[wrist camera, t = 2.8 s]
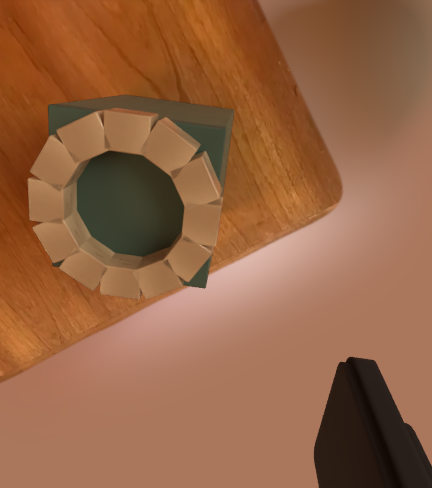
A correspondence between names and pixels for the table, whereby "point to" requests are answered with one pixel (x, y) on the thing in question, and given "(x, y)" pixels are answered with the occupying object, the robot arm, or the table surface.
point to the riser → (142, 177)
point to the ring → (73, 228)
